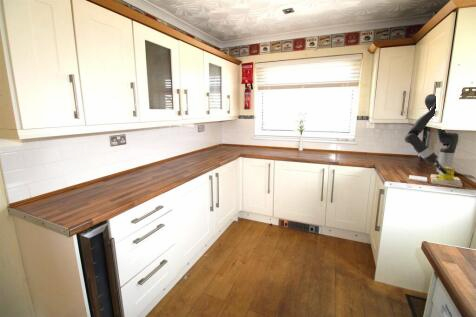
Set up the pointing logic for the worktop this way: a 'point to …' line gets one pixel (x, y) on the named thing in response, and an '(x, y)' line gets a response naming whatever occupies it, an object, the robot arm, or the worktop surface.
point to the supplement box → (447, 174)
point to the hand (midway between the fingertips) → (445, 172)
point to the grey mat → (418, 178)
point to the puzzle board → (446, 181)
